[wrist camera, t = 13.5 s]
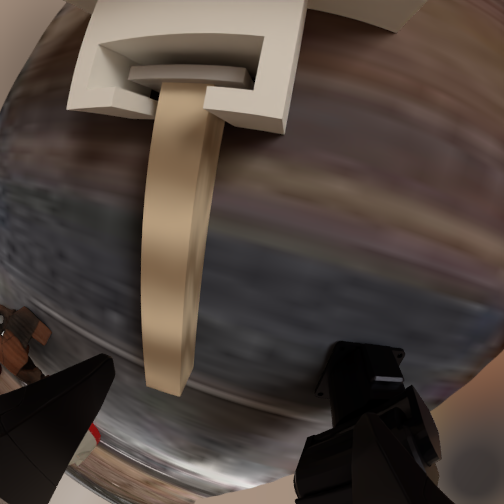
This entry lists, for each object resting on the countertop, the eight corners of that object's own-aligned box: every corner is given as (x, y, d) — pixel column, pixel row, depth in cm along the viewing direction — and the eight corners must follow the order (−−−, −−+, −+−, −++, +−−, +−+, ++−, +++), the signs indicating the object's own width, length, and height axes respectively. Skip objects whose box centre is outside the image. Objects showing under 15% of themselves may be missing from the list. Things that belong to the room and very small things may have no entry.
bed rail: (211, 371, 24) (196, 411, 19) (146, 352, 24) (123, 386, 19) (257, 91, 16) (246, 67, 11) (166, 84, 16) (130, 66, 11)
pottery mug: (72, 345, 26) (42, 399, 21) (63, 342, 33) (39, 385, 27) (0, 279, 21) (-34, 332, 16) (6, 290, 28) (-21, 332, 22)
